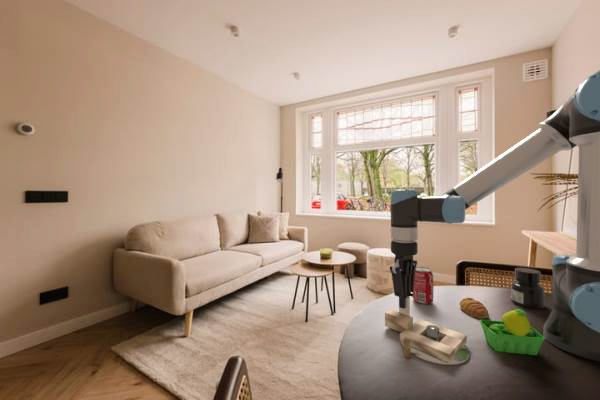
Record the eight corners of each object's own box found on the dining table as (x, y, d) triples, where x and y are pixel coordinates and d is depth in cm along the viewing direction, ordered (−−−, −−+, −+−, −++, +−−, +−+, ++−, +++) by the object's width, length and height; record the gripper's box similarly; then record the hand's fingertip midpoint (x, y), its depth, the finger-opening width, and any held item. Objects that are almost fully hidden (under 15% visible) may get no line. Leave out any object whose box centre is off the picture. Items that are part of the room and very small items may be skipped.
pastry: (495, 320, 81) (495, 308, 81) (473, 320, 82) (473, 308, 82) (476, 307, 91) (476, 296, 91) (456, 307, 91) (456, 296, 91)
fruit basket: (526, 341, 70) (526, 299, 69) (550, 362, 61) (551, 314, 61) (478, 337, 72) (478, 296, 72) (495, 357, 63) (495, 311, 63)
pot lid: (478, 346, 68) (478, 328, 67) (455, 375, 57) (455, 354, 57) (416, 323, 80) (416, 309, 80) (388, 344, 69) (388, 327, 69)
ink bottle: (509, 297, 99) (509, 265, 98) (541, 301, 94) (541, 268, 94) (513, 306, 91) (513, 272, 90) (547, 312, 86) (547, 276, 85)
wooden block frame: (466, 342, 68) (466, 327, 68) (449, 363, 60) (449, 345, 60) (397, 317, 82) (397, 304, 82) (376, 331, 74) (376, 317, 74)
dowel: (411, 356, 64) (411, 340, 64) (408, 358, 63) (408, 342, 63) (405, 353, 65) (405, 337, 65) (402, 355, 64) (402, 339, 64)
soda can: (429, 297, 99) (428, 266, 99) (436, 305, 92) (436, 272, 92) (409, 297, 100) (409, 266, 100) (416, 305, 93) (415, 271, 93)
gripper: (402, 236, 86) (403, 307, 87) (381, 241, 78) (381, 320, 78) (425, 239, 81) (426, 314, 81) (405, 245, 72) (406, 329, 73)
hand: (404, 317), depth 80 cm, fingers closed
